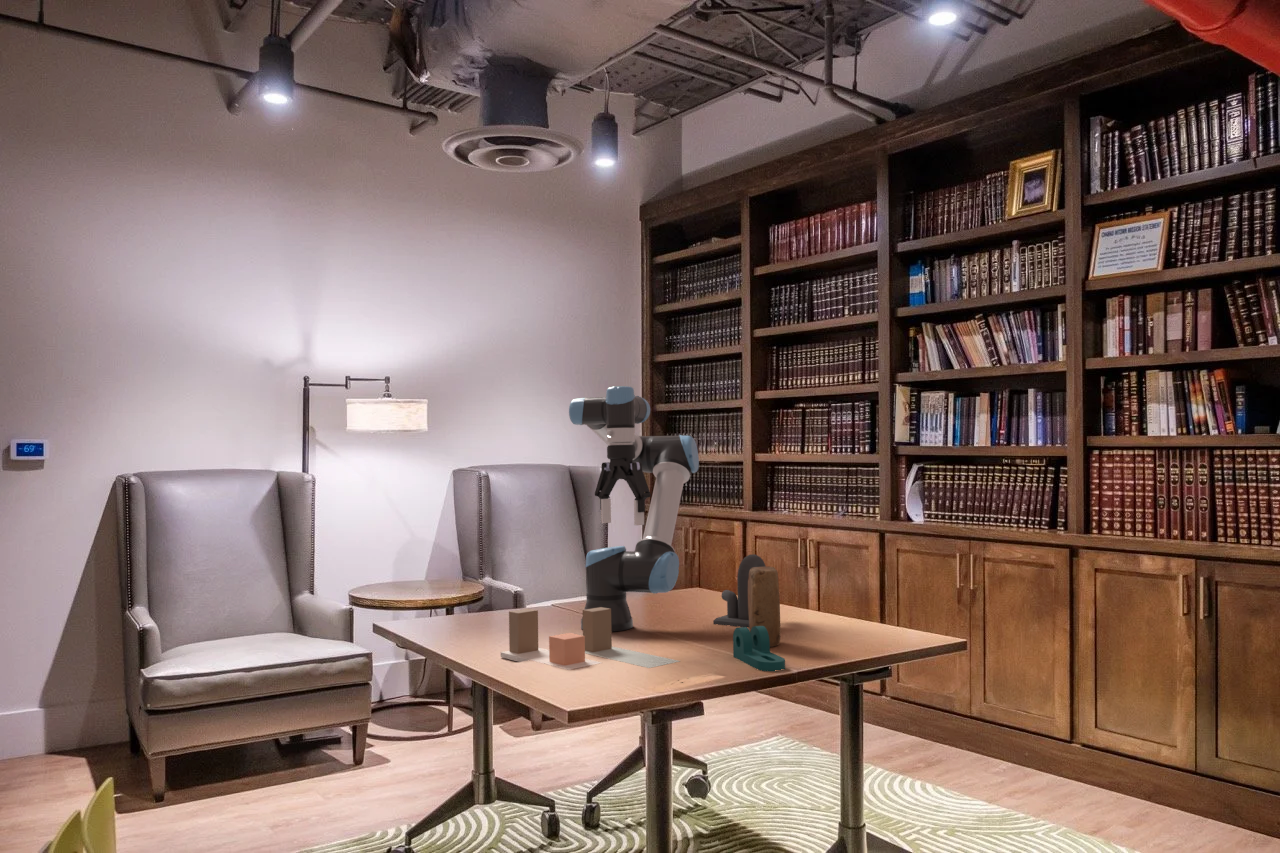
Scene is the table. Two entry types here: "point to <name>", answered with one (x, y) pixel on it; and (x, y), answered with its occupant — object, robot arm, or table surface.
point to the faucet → (739, 595)
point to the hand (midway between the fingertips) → (622, 524)
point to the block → (764, 601)
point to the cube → (567, 649)
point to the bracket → (755, 649)
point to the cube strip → (544, 659)
